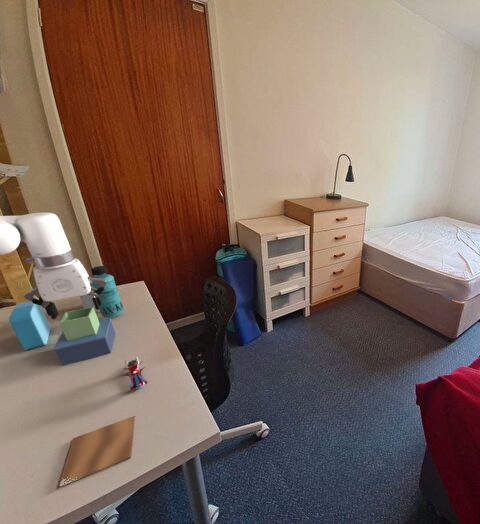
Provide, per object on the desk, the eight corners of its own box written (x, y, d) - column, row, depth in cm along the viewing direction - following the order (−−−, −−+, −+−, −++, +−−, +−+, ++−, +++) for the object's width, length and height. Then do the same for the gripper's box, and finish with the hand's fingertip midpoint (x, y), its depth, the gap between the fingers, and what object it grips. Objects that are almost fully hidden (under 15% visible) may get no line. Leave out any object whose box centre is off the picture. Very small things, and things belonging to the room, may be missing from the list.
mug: (82, 307, 108) (73, 284, 105) (112, 298, 116) (105, 276, 112) (90, 317, 103) (81, 293, 99) (121, 307, 110) (114, 284, 106)
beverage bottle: (98, 319, 102) (80, 269, 94) (118, 310, 108) (101, 262, 100) (111, 323, 100) (93, 272, 92) (130, 313, 106) (114, 265, 98)
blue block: (61, 366, 80) (53, 349, 78) (71, 343, 89) (64, 327, 87) (111, 353, 86) (105, 336, 84) (116, 333, 95) (110, 317, 93)
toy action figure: (129, 398, 71) (122, 382, 69) (123, 371, 79) (117, 356, 77) (152, 388, 75) (147, 372, 72) (144, 363, 83) (139, 348, 80)
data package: (32, 332, 94) (17, 301, 89) (51, 328, 96) (37, 297, 92) (25, 352, 85) (7, 319, 81) (46, 346, 88) (30, 314, 83)
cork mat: (59, 488, 53) (58, 487, 53) (73, 439, 61) (73, 438, 61) (131, 457, 58) (130, 456, 58) (135, 416, 67) (134, 415, 67)
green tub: (67, 341, 81) (59, 322, 79) (73, 329, 86) (65, 311, 84) (96, 334, 84) (89, 316, 82) (99, 323, 89) (93, 306, 87)
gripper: (2, 270, 69) (32, 327, 76) (93, 257, 77) (113, 310, 84) (15, 260, 75) (41, 313, 82) (98, 249, 83) (116, 298, 90)
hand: (78, 311), depth 83 cm, fingers open, 9 cm apart
